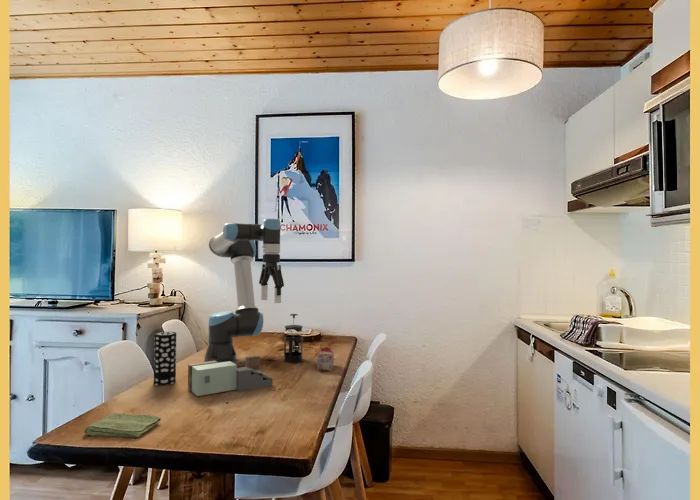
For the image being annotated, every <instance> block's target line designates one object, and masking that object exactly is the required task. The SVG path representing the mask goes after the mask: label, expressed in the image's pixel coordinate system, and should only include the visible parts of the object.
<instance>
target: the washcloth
mask: <svg viewBox="0 0 700 500" xmlns="http://www.w3.org/2000/svg"><path fill="white" fill-rule="evenodd" d="M161 420H162V417H159V416H156V415H151V414H127V413H111V414H109V415H107V416H106V415H105V417H103V418H101V419H100V420H99V421H95V422H94V423H92V424H90V425H87V427H86V428H85V429H84V434H85V435H87V436H88V435H90V436H91V437H101V436H102V437H105V436H112V437H111V438H133V437H135V438H136V437H137V438H140V437H141V436H142V435H143V434H145V432H147V431H150V430H151V429H152V428H153V427H155V426H156V425H157V424H158V423H160V422H161ZM114 436H115V437H114ZM135 438H134V439H135ZM137 438H136V439H137Z"/></svg>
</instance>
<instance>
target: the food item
mask: <svg viewBox="0 0 700 500" xmlns="http://www.w3.org/2000/svg"><path fill="white" fill-rule="evenodd" d="M334 361H335V359H334V350H333V349H332V348H331V347H328V346H326V347H320V348H319V352H317V354H316V367H317V369H318V370H319V371H320V372H332V371H333V368H334V364H335V363H334Z"/></svg>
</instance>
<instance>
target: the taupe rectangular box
mask: <svg viewBox="0 0 700 500" xmlns="http://www.w3.org/2000/svg"><path fill="white" fill-rule="evenodd" d="M213 363H218V362H217V361H208V362H205V361H203V362H202V361H201V362H195V363H188V364H187V367H188V368H187V391H188V392H190V393H193V392H192V366H198V365H206V364H213ZM245 367H248V368H251V369H253V370H259V371H261V370H260V369H261V356H260V355H258V354H255V355H246V356H245Z"/></svg>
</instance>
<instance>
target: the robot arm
mask: <svg viewBox="0 0 700 500" xmlns="http://www.w3.org/2000/svg"><path fill="white" fill-rule="evenodd" d="M281 228H282V227H281V220H279V219H278V218H264V219H263V222H262V224H261V223H260V224H259V223H258V224H257V223H235V222H229V223H228V222H226V223H224V225H223V228H222V231H221V233H220V234H215V235H214V236H212V237H211V238H210V239H209V241H208V248H209V250H210V251H211V253H212V254H214V255H215V256H217V257H221V258H230V262H231V263H232V264H233V266H234V276H235V287H236V288H235V289H236V299H237V302H236V303H237V309H236V310H235V312H233V311H232V310H228V311H225V310H224V311H218V312H215V313H212V314H210V315H209V317H208V324H207V326H208V338H207V339H208V341H207V342H208V344H207V347H206V350H205V352H204V353H205V354H204V361H203V362H208V361H217V362H218V363H220V362H227V361H231V362H235V361H236V360H237V353H236V350H235V346H234V339H235V338H243V337H253V336H259V335H260V334H261V333H262V330H263V328H264V315H263V313H262V312H261V311H260V310H259V308H258V307H257V306H256V305H255V304H256V303H255V295H254V294H255V291H254V284H253V283H254V282H253V275H252V265H251V264H252V262H253V260H254V258H255V257H256V254H257V246H256V242H257V241H259V242H262V246H261V247H262V253H263V254H262V262H263V264H262V266H261V271H260V277H259V280H258V284H259V285H260V287H261V290H260V292H261V294H260V295H261V297H260V300H261V301H268V292H269V291H268V286H269V285H268V283H269V280H270V277H272V281H273V283H274V287H273V288H274V304H282V288H284V287H285V283H284V278H283V273H282V265H281V264H279V263H280V261H281V255H280V253H281Z"/></svg>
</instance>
